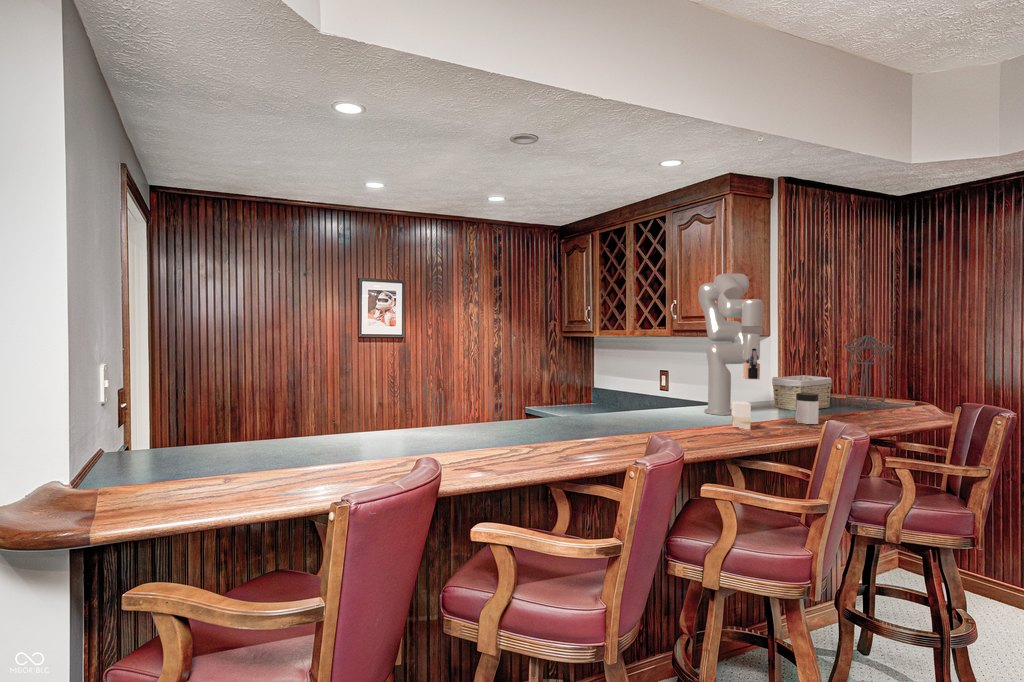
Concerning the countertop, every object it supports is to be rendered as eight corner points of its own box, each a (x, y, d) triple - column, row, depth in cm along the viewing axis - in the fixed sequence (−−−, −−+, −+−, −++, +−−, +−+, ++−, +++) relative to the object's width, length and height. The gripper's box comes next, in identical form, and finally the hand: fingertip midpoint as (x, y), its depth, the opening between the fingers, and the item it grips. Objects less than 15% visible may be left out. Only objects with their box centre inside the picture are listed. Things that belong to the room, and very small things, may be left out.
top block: (743, 377, 227) (743, 362, 227) (756, 378, 226) (757, 362, 226) (745, 379, 222) (746, 363, 222) (759, 379, 221) (759, 363, 221)
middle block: (731, 414, 227) (731, 401, 226) (747, 414, 225) (748, 402, 225) (733, 416, 221) (734, 403, 221) (750, 417, 219) (750, 404, 219)
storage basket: (799, 412, 263) (800, 380, 263) (769, 407, 278) (770, 376, 277) (833, 408, 274) (833, 377, 274) (802, 404, 289) (803, 374, 288)
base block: (731, 426, 227) (731, 414, 227) (747, 427, 225) (747, 414, 225) (733, 429, 221) (733, 416, 221) (750, 430, 220) (750, 417, 219)
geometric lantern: (838, 406, 281) (841, 334, 280) (866, 406, 284) (869, 335, 283) (863, 411, 265) (866, 335, 265) (893, 411, 268) (896, 335, 267)
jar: (822, 423, 234) (823, 394, 234) (813, 425, 229) (814, 395, 229) (800, 420, 241) (800, 391, 241) (790, 422, 236) (791, 393, 236)
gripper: (737, 330, 233) (736, 375, 233) (746, 331, 216) (745, 379, 217) (757, 330, 231) (756, 376, 232) (767, 331, 215) (766, 380, 215)
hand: (751, 377), depth 224 cm, fingers closed on top block, 4 cm apart
